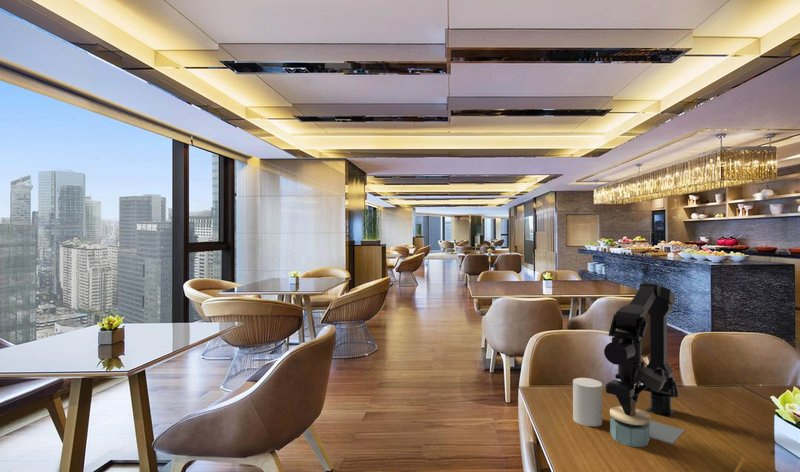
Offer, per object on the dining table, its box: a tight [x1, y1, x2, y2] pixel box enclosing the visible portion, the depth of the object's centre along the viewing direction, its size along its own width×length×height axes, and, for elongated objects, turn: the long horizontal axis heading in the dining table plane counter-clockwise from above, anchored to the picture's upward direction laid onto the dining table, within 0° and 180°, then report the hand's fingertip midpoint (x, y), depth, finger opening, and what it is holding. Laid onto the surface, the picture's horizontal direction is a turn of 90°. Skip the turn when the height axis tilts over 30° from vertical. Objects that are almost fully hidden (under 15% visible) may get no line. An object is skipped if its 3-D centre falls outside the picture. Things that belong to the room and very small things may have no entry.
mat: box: [649, 420, 686, 445], centre depth 124 cm, size 12×12×1 cm
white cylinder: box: [572, 377, 603, 427], centre depth 130 cm, size 8×8×12 cm
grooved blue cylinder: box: [609, 417, 651, 448], centre depth 119 cm, size 9×9×5 cm
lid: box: [609, 400, 652, 425], centre depth 118 cm, size 10×10×4 cm
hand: (629, 413), depth 119 cm, fingers closed on lid, 3 cm apart
